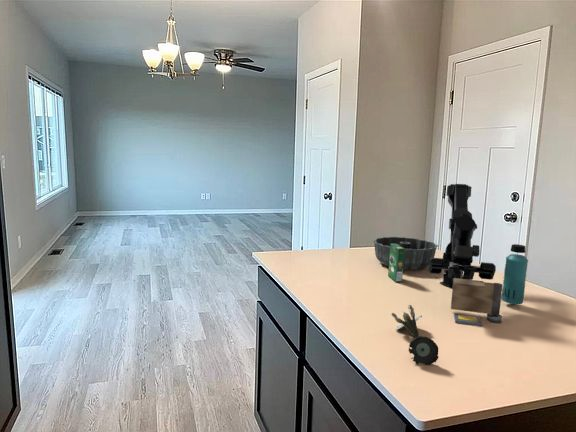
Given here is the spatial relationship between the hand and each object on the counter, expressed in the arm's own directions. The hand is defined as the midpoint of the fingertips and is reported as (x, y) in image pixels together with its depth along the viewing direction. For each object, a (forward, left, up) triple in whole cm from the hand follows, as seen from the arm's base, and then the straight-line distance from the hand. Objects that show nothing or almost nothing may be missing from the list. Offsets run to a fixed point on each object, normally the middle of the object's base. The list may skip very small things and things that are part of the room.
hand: (461, 292), depth 129 cm
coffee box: (-6, -35, -7) cm, 37 cm away
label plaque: (+2, +4, -7) cm, 8 cm away
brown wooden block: (0, +5, -5) cm, 7 cm away
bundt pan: (-24, -50, -7) cm, 57 cm away
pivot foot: (-6, +8, -7) cm, 12 cm away
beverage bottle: (-22, +2, -7) cm, 24 cm away
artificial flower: (+27, +9, -7) cm, 29 cm away
